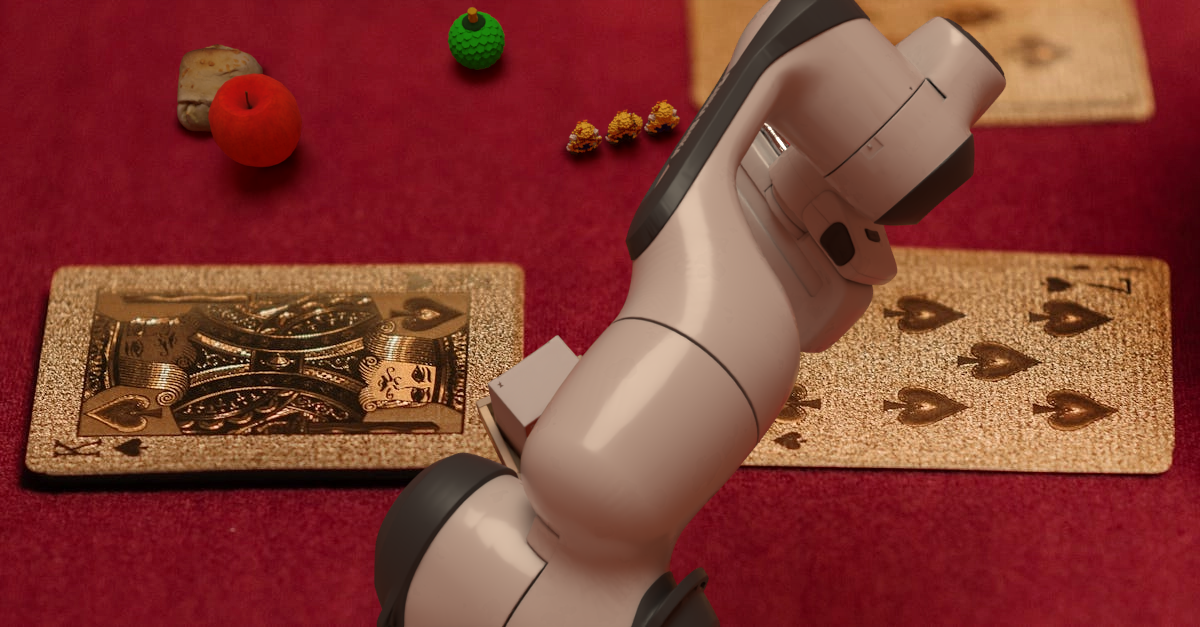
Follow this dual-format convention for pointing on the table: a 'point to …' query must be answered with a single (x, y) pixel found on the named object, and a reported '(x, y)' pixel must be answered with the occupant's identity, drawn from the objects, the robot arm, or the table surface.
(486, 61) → the ornament
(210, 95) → the pastry
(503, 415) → the small box
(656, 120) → the figurine set
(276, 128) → the apple
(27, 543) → the table surface
